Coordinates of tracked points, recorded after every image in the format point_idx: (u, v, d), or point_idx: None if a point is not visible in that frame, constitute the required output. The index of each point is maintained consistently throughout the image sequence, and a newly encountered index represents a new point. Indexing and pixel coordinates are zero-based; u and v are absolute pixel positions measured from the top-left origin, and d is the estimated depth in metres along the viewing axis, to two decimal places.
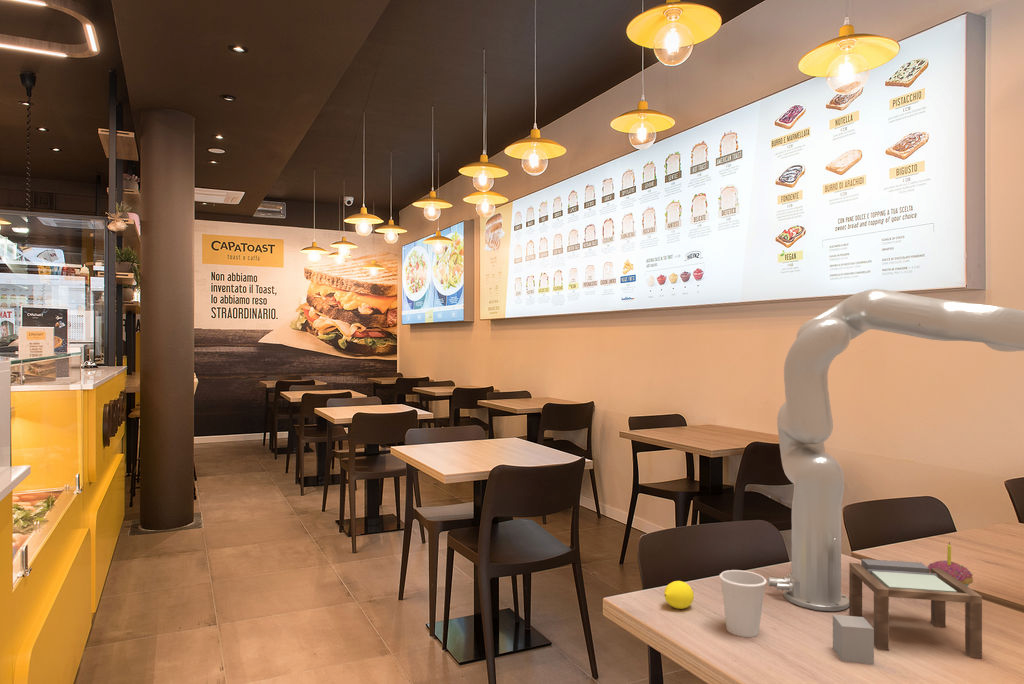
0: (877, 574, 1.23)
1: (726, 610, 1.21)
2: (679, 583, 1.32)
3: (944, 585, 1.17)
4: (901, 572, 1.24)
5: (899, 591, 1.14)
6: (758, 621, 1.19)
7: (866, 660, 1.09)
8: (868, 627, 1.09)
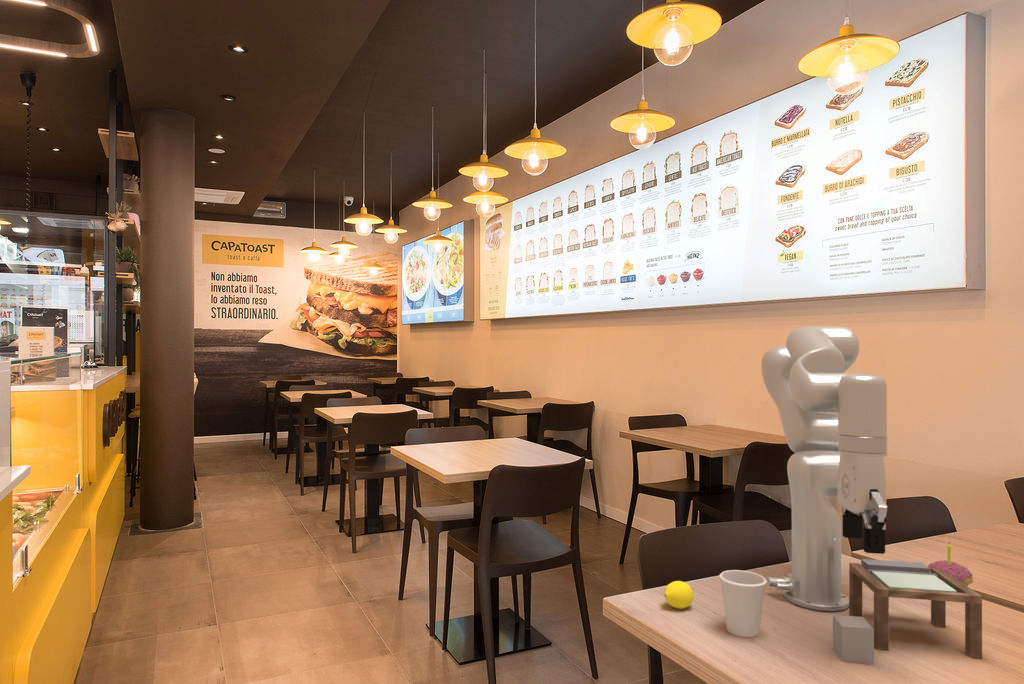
0: (877, 574, 1.23)
1: (726, 610, 1.21)
2: (679, 583, 1.32)
3: (944, 585, 1.17)
4: (901, 572, 1.24)
5: (899, 591, 1.14)
6: (758, 621, 1.19)
7: (866, 660, 1.09)
8: (868, 627, 1.09)
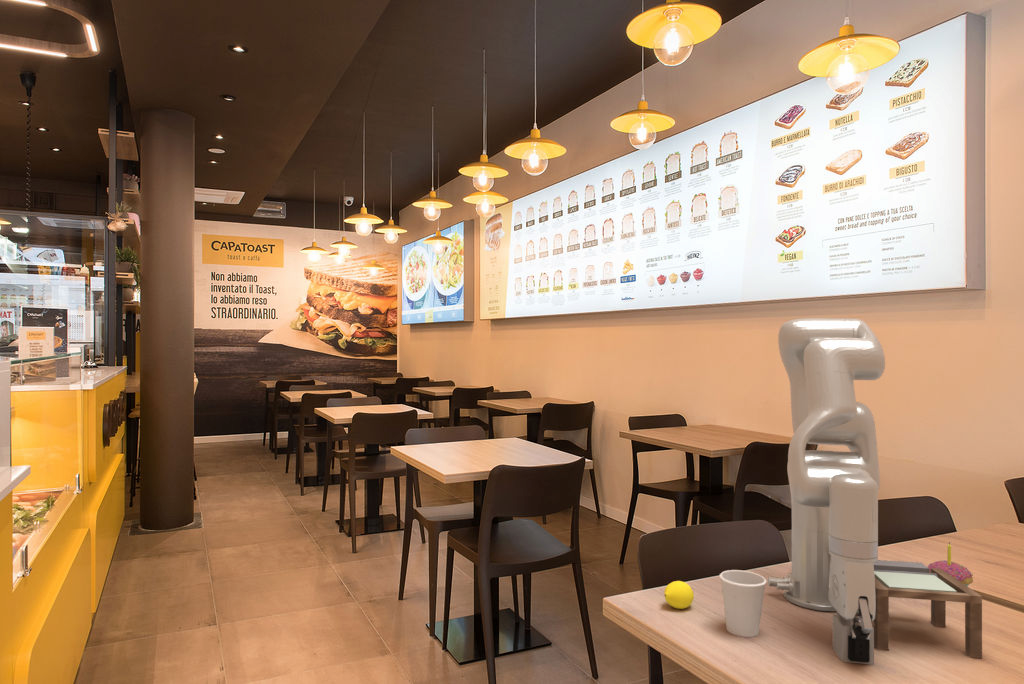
0: (877, 574, 1.23)
1: (726, 610, 1.21)
2: (679, 583, 1.32)
3: (944, 585, 1.17)
4: (901, 572, 1.24)
5: (899, 591, 1.14)
6: (758, 621, 1.19)
7: None
8: None
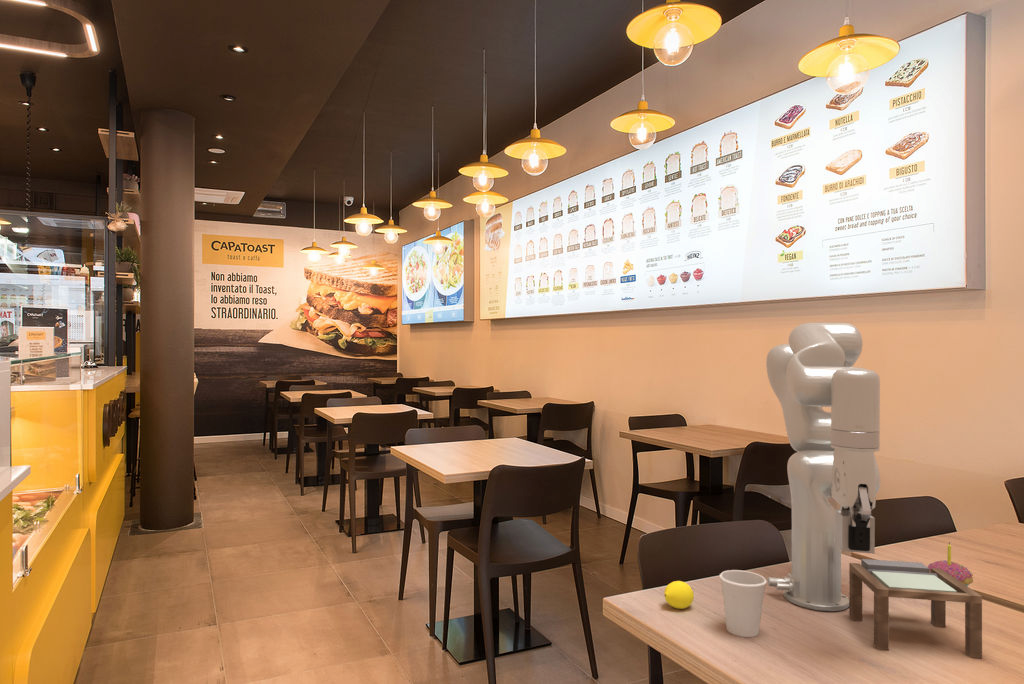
0: (877, 574, 1.23)
1: (726, 610, 1.21)
2: (679, 583, 1.32)
3: (944, 585, 1.17)
4: (901, 572, 1.24)
5: (899, 591, 1.14)
6: (758, 621, 1.19)
7: None
8: None
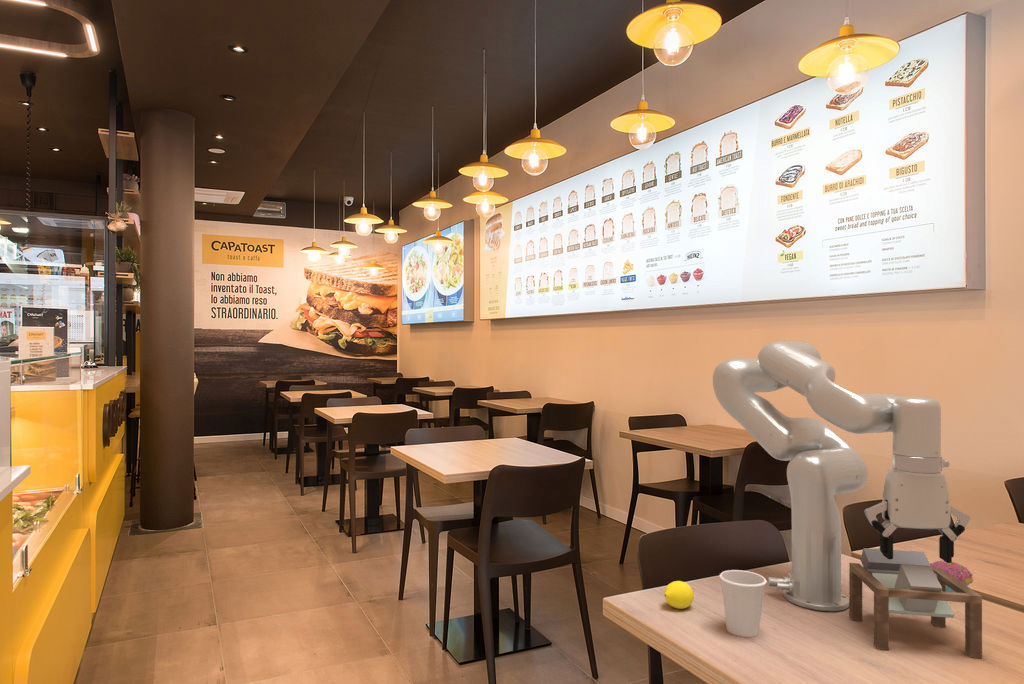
0: None
1: (726, 610, 1.21)
2: (679, 583, 1.32)
3: (942, 601, 1.18)
4: None
5: (899, 591, 1.14)
6: (758, 621, 1.19)
7: (902, 602, 1.18)
8: (911, 582, 1.15)
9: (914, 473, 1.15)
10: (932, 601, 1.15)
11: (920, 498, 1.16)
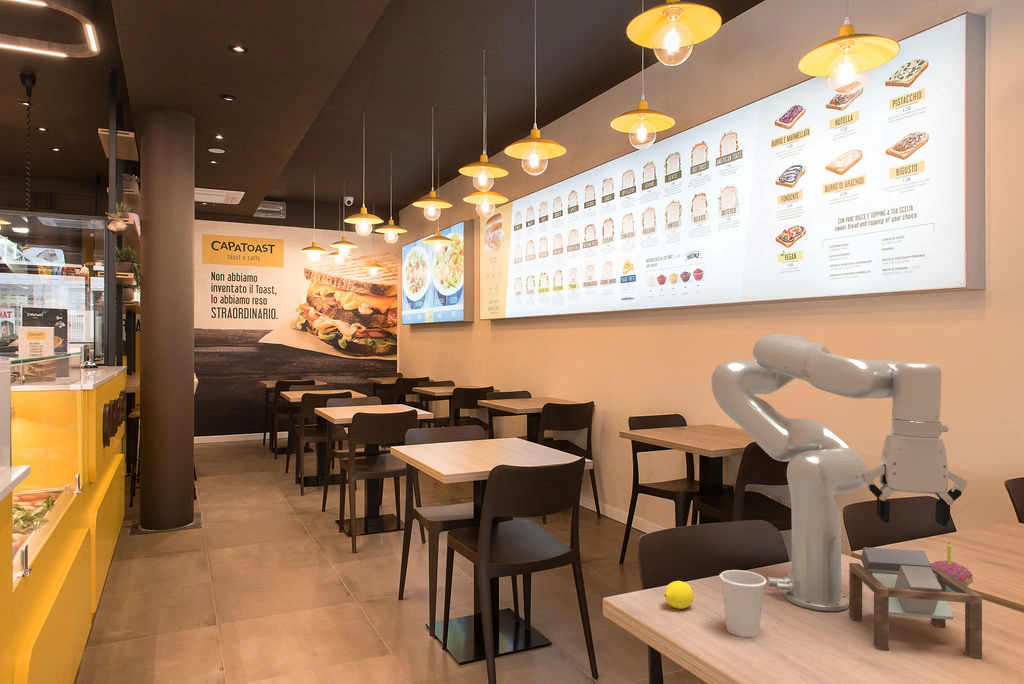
0: None
1: (726, 610, 1.21)
2: (679, 583, 1.32)
3: (942, 603, 1.18)
4: None
5: (899, 591, 1.14)
6: (758, 621, 1.19)
7: (902, 603, 1.18)
8: (911, 583, 1.15)
9: (913, 437, 1.16)
10: (932, 602, 1.15)
11: (918, 462, 1.16)
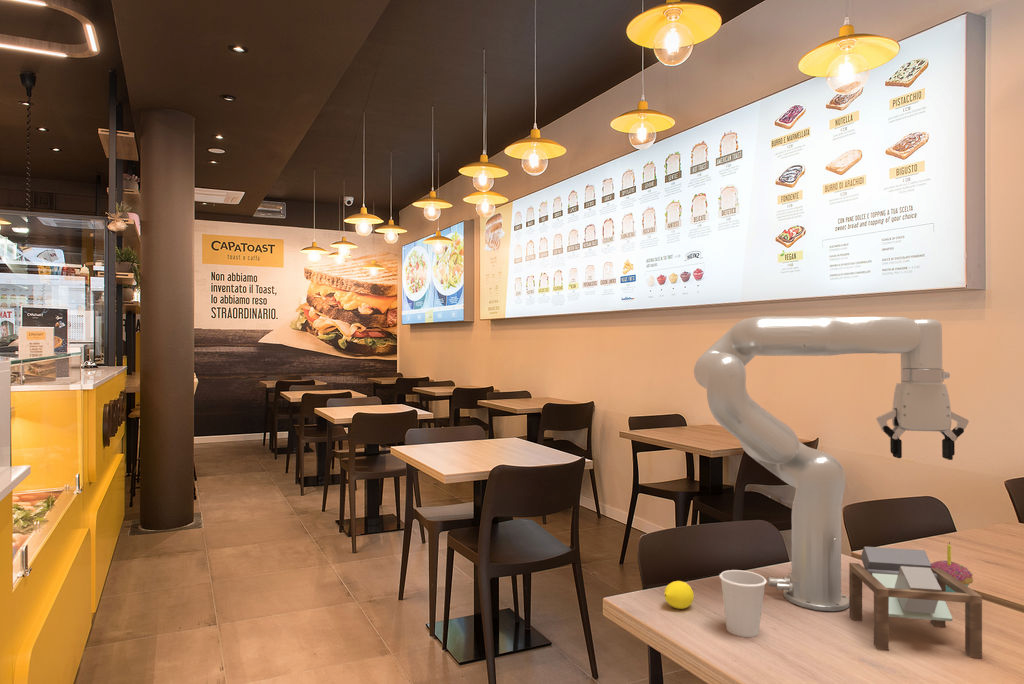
0: None
1: (726, 610, 1.21)
2: (679, 583, 1.32)
3: (941, 604, 1.18)
4: None
5: (899, 591, 1.14)
6: (758, 621, 1.19)
7: (902, 603, 1.18)
8: (911, 584, 1.15)
9: (919, 382, 1.35)
10: (931, 603, 1.15)
11: (924, 404, 1.35)
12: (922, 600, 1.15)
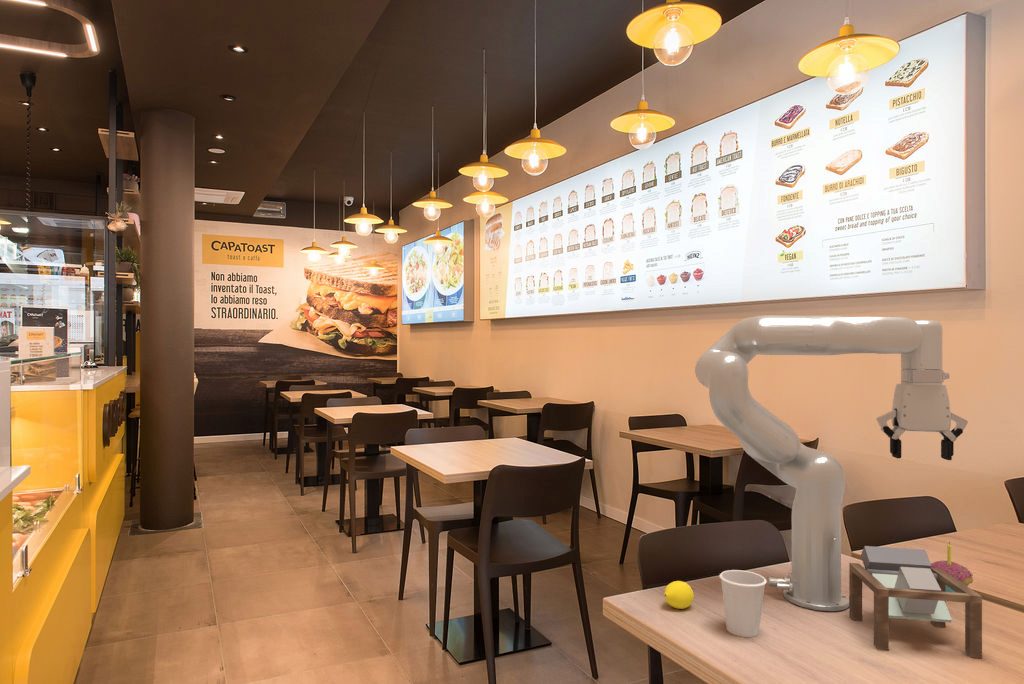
0: None
1: (726, 610, 1.21)
2: (679, 583, 1.32)
3: (941, 605, 1.18)
4: None
5: (899, 591, 1.14)
6: (758, 621, 1.19)
7: (901, 604, 1.18)
8: (911, 585, 1.15)
9: (919, 383, 1.35)
10: (931, 603, 1.15)
11: (924, 404, 1.36)
12: (922, 601, 1.15)
